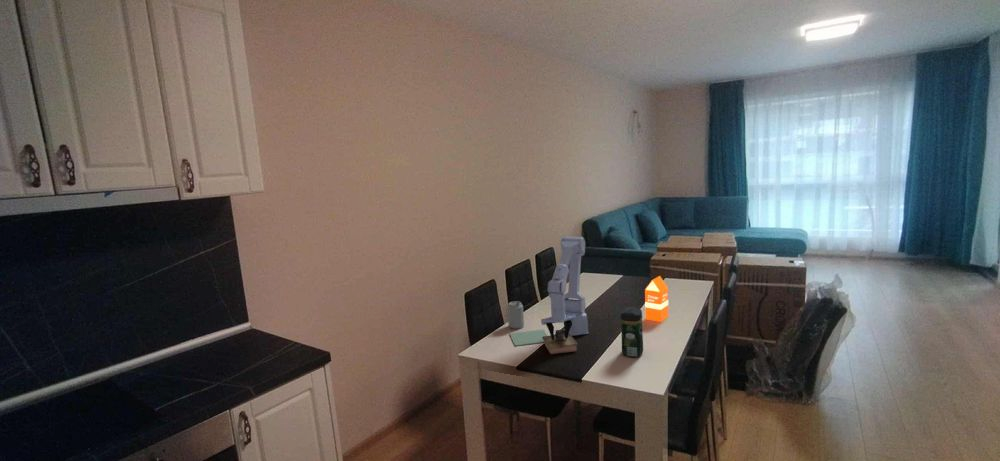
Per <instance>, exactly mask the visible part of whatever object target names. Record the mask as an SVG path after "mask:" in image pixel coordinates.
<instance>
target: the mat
mask: <svg viewBox="0 0 1000 461" xmlns="http://www.w3.org/2000/svg"><path fill="white" fill-rule="evenodd" d="M509 336H510V338H511V340H512V342H513V345H514V347H521V346H528V345H536V344H544V340H543V338H542V337H543V336H548V334H547V333H546V332H545V330H544V329H536V330H526V331H519V332H511V333H509Z"/></svg>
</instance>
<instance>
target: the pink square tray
mask: <svg viewBox="0 0 1000 461" xmlns="http://www.w3.org/2000/svg"><path fill="white" fill-rule="evenodd" d="M544 344H545V345H544ZM543 345H544V346H545V348H546V350H547V351H548V352H549V354H550V355H557V354H562V353H563V354H565V353H572V352H577V346H571V347H563V348H556V349H549V348H548V346H547V345H546V343H545V341H544V343H543Z"/></svg>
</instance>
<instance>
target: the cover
mask: <svg viewBox="0 0 1000 461" xmlns="http://www.w3.org/2000/svg"><path fill="white" fill-rule="evenodd" d="M563 332H564V330H562V329H556V330H555V334H554V340H552V339H551V335H547V336H543V337H542V338H543V340H544V341H545V343H546V345H547V346H548V348H549V349H556V348H563V347H571V346H576V347H578V344H579V343H578V342H577V341H576V339H574V337H573V336H571V335H570V334H568V339H566V338H565V335H564V333H563Z"/></svg>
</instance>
